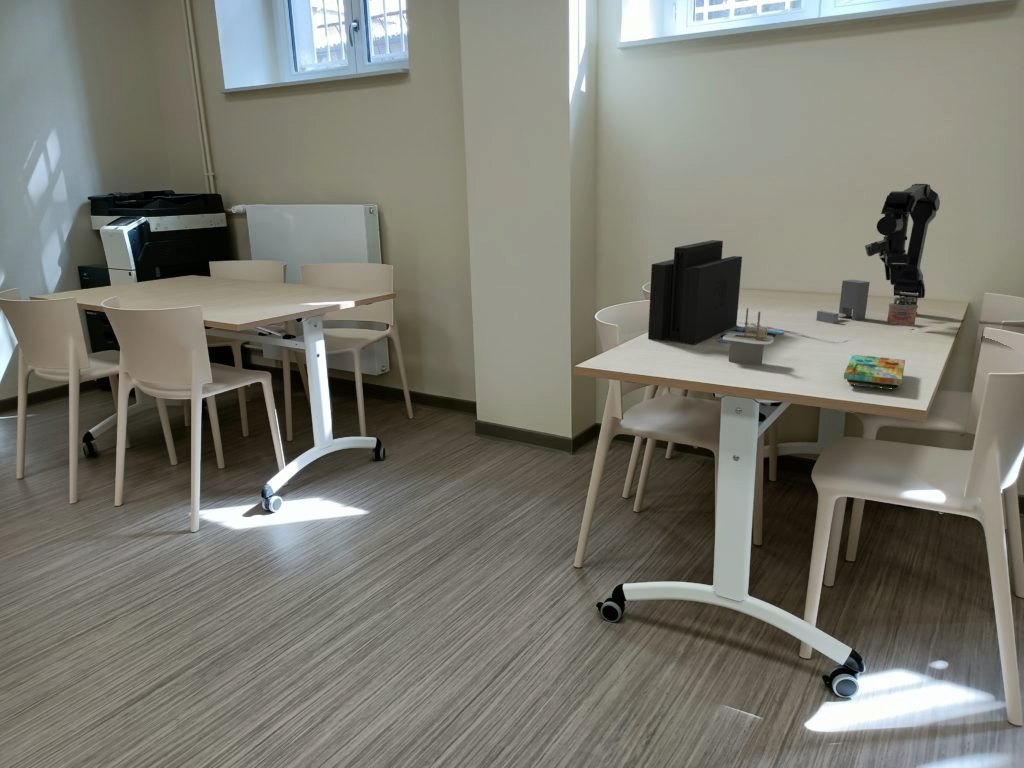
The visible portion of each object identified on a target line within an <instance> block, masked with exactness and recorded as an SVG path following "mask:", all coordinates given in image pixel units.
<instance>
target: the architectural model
mask: <svg viewBox="0 0 1024 768" xmlns="http://www.w3.org/2000/svg"><path fill="white" fill-rule="evenodd" d="M748 318H749V307H746V314H745V326H744V327H745V334H739V333H729V334H727V335H724V336H723V339H724V340H730V343H729V350H728V362H731V363H738V364H739V363H740V364H747V365H755V366H763V357H764V349H765V348H764V347H765V345H770V344H772V343H773V342H774V340H775V337H768V336H767V329H768V327H767V326H766V327H760V322H761V311H758V312H757V322H756V323H757V324H756V325H757V326H753V328H754V330H755V334H756V335H753V332H752V328H751V327H752V326H751V325H748V320H749V319H748ZM747 327H750V331H751V334H749V332H748V329H747ZM756 328H757V331H756ZM760 328H761V329H762V330H760ZM765 330H766V335H765ZM761 331H762V333H763V336H762V335H761ZM746 332H747V334H746Z"/></svg>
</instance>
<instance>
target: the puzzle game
mask: <svg viewBox="0 0 1024 768" xmlns="http://www.w3.org/2000/svg"><path fill="white" fill-rule="evenodd" d="M905 365H906V360H905V359H901V358H899V359H898V358H890V357H884V356H883V357H882V356H881V357H879V356H875V355H874V356H872V355H871V356H870V355H863V354H862V355H859V354H852V355H851V357H850V359H849V362H848V364H847V366H846V368H845V371H844V373H843V379H844V380H846V382H847V383H848V384H849V385H850V384H855V385H854V386H857V385H863V386H862V387H865V386H872V387H871V388H874V387H882V388H892V389H895V390H897V388H898V387H901V386H902V382H903V377H904V370H905ZM882 388H881V389H882Z"/></svg>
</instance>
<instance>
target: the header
mask: <svg viewBox="0 0 1024 768" xmlns="http://www.w3.org/2000/svg"><path fill="white" fill-rule="evenodd" d="M844 316H846V314H843V313H839V312H832V311H827V310H817V311H816V317H815V318H816V319H815V320H816V322H817V321H818V322H822V323H826V324H832V325H836V324H838V322H839V317H844ZM844 318H845V317H844Z"/></svg>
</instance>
